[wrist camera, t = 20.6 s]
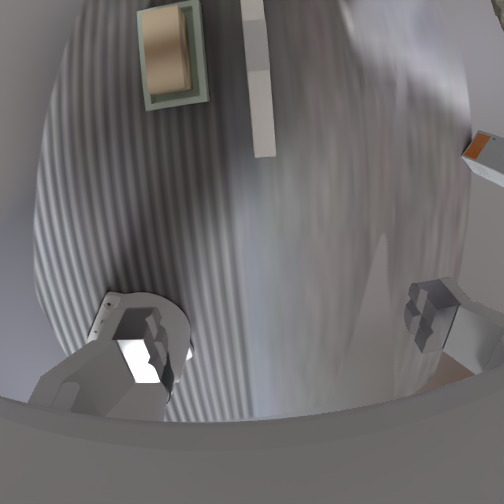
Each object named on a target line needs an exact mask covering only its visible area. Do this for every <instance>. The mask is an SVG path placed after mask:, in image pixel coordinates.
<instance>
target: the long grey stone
mask: <svg viewBox="0 0 504 504" xmlns="http://www.w3.org/2000/svg"><path fill="white" fill-rule="evenodd" d="M491 2H492V5H493V8H494V12H495V15H496V16H498V18H499V21H500V24H501V27H502V29H503V30H504V0H491Z"/></svg>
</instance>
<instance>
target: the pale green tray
mask: <svg viewBox="0 0 504 504" xmlns="http://www.w3.org/2000/svg"><path fill="white" fill-rule="evenodd" d="M175 5H178V6H179V8H180V9H181V10H182V12H183V13H184V15H185V16H186V17H187V27H188V39H189V50H190V61H191V72H192V82H193V90H188V91H181V92H175V93H169V94H164V95H155V94H148V85H147V76H146V65H145V54H144V41H143V27H142V13H143V12H147V11H151V10H155V9H160V8H164V7H169V6H175ZM137 24H138V39H139V52H140V63H141V73H142V83H143V92H144V101H145V109H146V111H152V110H157V109H163V108H169V107H175V106H181V105H187V104H194V103H201V102H209V101H210V96H209V86H208V75H207V65H206V54H205V43H204V32H203V20H202V8H201V4H200V2H199V0H189V1H183V2H178V3H173V4H168V5H163V6H158V7H154V8H149V9H145V10H141V11H137Z"/></svg>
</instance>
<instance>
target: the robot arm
mask: <svg viewBox="0 0 504 504" xmlns="http://www.w3.org/2000/svg"><path fill="white" fill-rule="evenodd" d="M408 295H409V296H410V298H411V299H410V301H409V302H408V303H407V304H406V306H405V311H404V319H405V324H406V327H407V329H408V330H409V332H411V333H413V334H414V335H416V336H415V340H414V341H415V342H416V344H417V346H418V348H419V349H420V351H421V353H422V354H424V353H429V352H433V351H438V350H442V349H443V351H444V352H446V353H447V354H448V355H450V356H451V357H453V358H454V359H455V360H457V361H458V362H459V363H461V364H462V365H464V366H465V367H466V368H468V369H469V370H470V371H472V372H473V373H475V374H476V375H474V376H472V377H469V378H466V379H463V380H460V381H457V382H454V383H451V384H448V385H445V386H442V387H438V388H435V389H432V390H428V391H425V392H422V393H418V394H414V395H410V396H407V397H403V398H399V399H395V400H390V401H386V402H382V403H377V404H372V405H368V406H363V407H358V408H352V409H347V410H341V411H335V412H329V413H322V414H315V415H308V416H300V417H291V418H281V419H270V420H257V421H239V422H164V416H165V409H166V404H167V403H168V402H169V400H170V397H171V395H172V392H173V388H174V383H176V382H179V380H180V378H181V375H182V372H183V368H184V365H185V361H186V360H188V359H190V358H191V357H192V356H193V353H194V350H193V347H192V345H191V343H190V335H191V329H190V324H189V321H188V319H187V317H186V316H185V314H184V313H183V312H182V310H181V309H180V308H179V307H177V306H176V305H175V304H174V303H172V302H171V301H169V300H167V299H166V298H163V297H161V296H158V295H155V294H151V293H144V292H137V293H130V294H122V293H117V292H108V293H107V294H106V295H105V298H104V300H103V302H102V305H101V307H100V309H99V312H98V314H97V316H96V319H95V321H94V324H93V326H92V329H91V331H90V334H89V336H88V339H87V344H86V345H85V346H83V347H82V348H80V349H79V350H78V351H76V352H75V353H73V354H72V355H71V356H69V357H68V358H66V359H65V360H64V361H62V362H61V363H59V364H58V365H57V366H55V367H54V368H52V369H51V370H50V371H48V372H47V373H45V374H44V375H43V376H41V377H40V380H39V381H38V383H37V385H36V387H35V389H34V391H33V393H32V395H31V397H30V399H29V401H28V403H25V402H21V401H16V400H13V399H9V398H5V397H1V396H0V504H504V314H503V313H500V312H498V311H496V310H494V309H492V308H489V307H487V306H485V305H483V304H480V303H478V302H473V301H472V300H471V299H470V298H469V297H468V296H467V295H466V293H465V292H464V291H463V290H462V289H461V288H460V287H459V286H458V285H457V283H456V282H455V281H454V280H453V279H452V278H450V277H445V278H440V279H436V280H431V281H425V282H418V283H412V284H411V286H410V288H409V293H408ZM109 303H110V304H109Z"/></svg>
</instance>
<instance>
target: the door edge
mask: <svg viewBox="0 0 504 504" xmlns="http://www.w3.org/2000/svg"><path fill="white" fill-rule="evenodd" d="M240 6H241V16H242V27H243V37H244V48H245V59H246V70H247V81H248V92H249V104H250V115H251V127H252V138H253V150H254V155H255V158H257V157H270V156H276V146H275V132H274V118H273V105H272V93H271V80H270V61H269V50H268V39H267V29H266V21H265V16H264V6H263V0H240Z"/></svg>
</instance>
